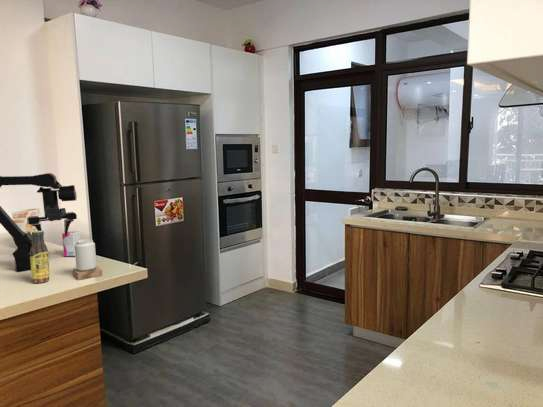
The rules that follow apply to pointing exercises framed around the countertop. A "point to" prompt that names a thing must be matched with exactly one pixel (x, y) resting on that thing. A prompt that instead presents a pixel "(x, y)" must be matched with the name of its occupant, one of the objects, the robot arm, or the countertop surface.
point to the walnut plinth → (87, 273)
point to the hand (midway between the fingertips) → (54, 237)
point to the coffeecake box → (25, 219)
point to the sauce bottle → (39, 258)
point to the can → (85, 255)
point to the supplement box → (70, 243)
